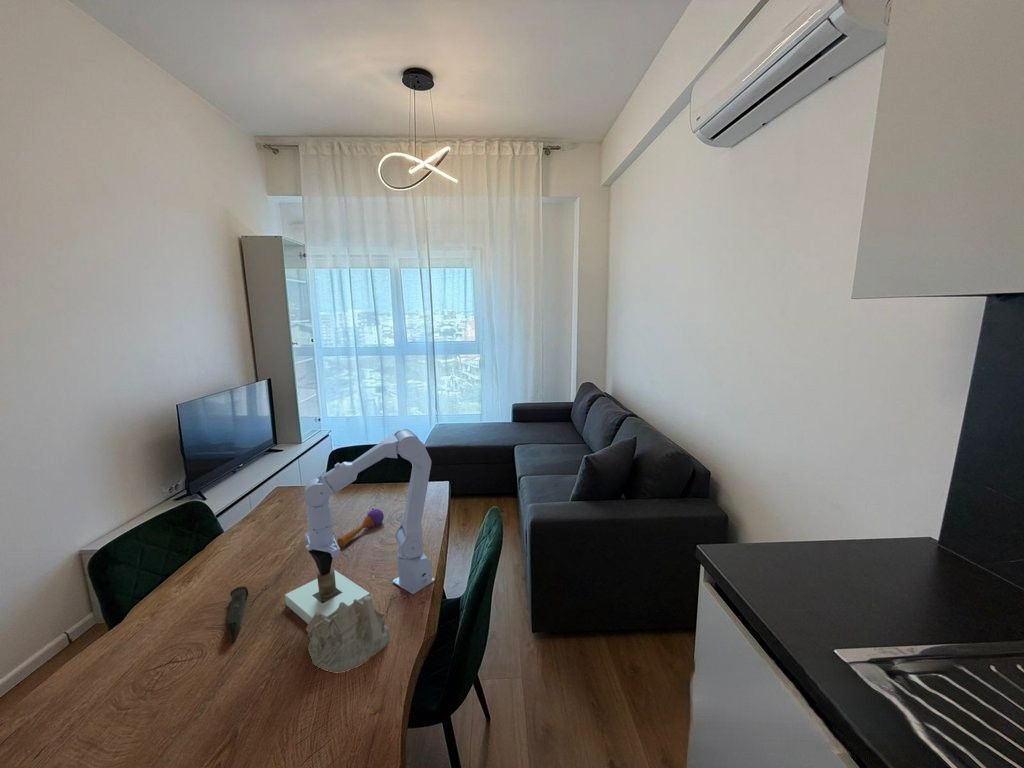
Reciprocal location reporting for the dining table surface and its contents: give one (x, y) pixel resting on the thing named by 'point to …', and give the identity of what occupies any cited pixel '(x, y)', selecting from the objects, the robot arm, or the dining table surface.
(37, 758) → the dining table surface
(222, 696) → the dining table surface
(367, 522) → the kendama
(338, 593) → the sage board
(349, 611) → the pale grey lumpy mound
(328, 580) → the walnut peg
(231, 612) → the hand tool
